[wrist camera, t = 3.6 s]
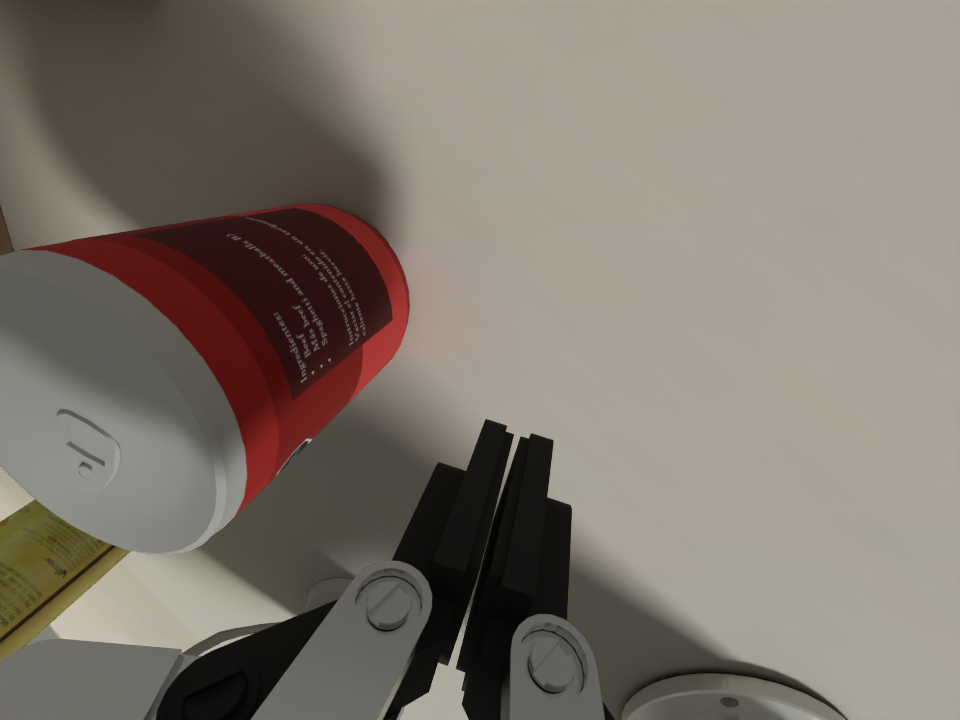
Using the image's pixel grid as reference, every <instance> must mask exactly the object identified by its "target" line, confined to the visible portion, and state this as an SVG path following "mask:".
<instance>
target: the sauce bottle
mask: <svg viewBox="0 0 960 720" xmlns="http://www.w3.org/2000/svg"><path fill="white" fill-rule="evenodd" d="M129 552H131V551H129V550H125V549H123V548H120V547H117V546H115V545H112V544H109V543H106V542H104V541H101V540H99V539H97V538H95V537H93V536H91V535H89V534H87V533H85V532H83V531H81V530H79V529H77V528H76V527H74V526H72V525H71V524H69V523H68V522H66V521H65V520H63V519H62V518H60V517H58V516H57V515H55V514H54V513H52V512H51V511H50V510H49V509H47V508H46V507H45V506H44V505H42V504H41V503H40V502H38V501H37V500H36V499H35V500H34V501H32V502H30V503H29V504H27V505H26V506H24V507H23V508H21V509H20V510H18V511H16V512H15V513H13V514H12V515H10V516H9V517H7V518H6V519H4V520H3V521H1V522H0V660H2V659H3V658H5V657H7V656H8V655H10V654H11V653H13V652H15V651H16V650H18V649H20V648H22V647H24V646H26V645H27V644H28V643H29V642H30V641H31V640H32V639H33V638H34V637H35V636H37V635H38V634H39V633H40V632H41V631H42V630H43V629H44V628H46V627H47V626H48V625H49V624H50V623H51V622H52V621H53V620H55V619H56V618H57V617H58V616H59V615H60V614H61V613H62V612H63V611H65V610H66V609H67V608H68V607H69V606H70V605H71V604H72V603H74V602H75V601H76V600H77V599H78V598H79V597H80V596H81V595H83V594H84V593H85V592H86V591H87V590H88V589H89V588H91V587H92V586H93V585H94V584H95V583H96V582H97V581H98V580H99V579H101V578H102V577H103V576H104V575H105V574H106V573H107V572H108V571H109V570H111V569H112V568H113V567H114V566H115V565H116V564H117V563H118V562H119V561H121V560H122V559H123V558H124V557H125V556H126V555H127V554H128V553H129Z"/></svg>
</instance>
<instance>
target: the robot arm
mask: <svg viewBox="0 0 960 720" xmlns="http://www.w3.org/2000/svg"><path fill="white" fill-rule="evenodd" d="M506 428H507V426H506V425H503V424H500V423H497V422H494V421H490V420H487V419H486V420H485V422H484V425H483V427H482V430H481V433H480V436H479V438H478V441H477V444H476V446H475V449H474V452H473V454H472V457H471V460H470V463H469V465H468V468H467V471H464V470H461V469H458V468H455V467H452V466H449V465H446V464H443V463H440V462H439V463H438V464H437V465H436V467H435V469H434V471H433V474H432V476H431V478H430V480H429V482H428V484H427V486H426V489H425V491H424V493H423V495H422V497H421V499H420V501H419V504H418V506H417V508H416V510H415V512H414V514H413V516H412V518H411V521H410V523H409V525H408V527H407V529H406V531H405V533H404V536H403V538H402V540H401V542H400V544H399V546H398V548H397V551H396V553H395V555H394V557H393V559H392V561H383V562H379V563H374V564H373V565H371V566H369V567H367V568H365V569H364V570H362V571H361V572H360V573H359V574H358V575H357V576H356V577H355V578H354V579H353V581H352V582H351V583H350V585H349V586H348V588H347V589H346V590H345V592H344V593H343V594H342V596H341V597H340V598H339V599H337V600H335V601H332V602H330V603H327V604H325V605H323V606H320V607H318V608H315V609H313V610H310V611H308V612H306V613H303V614H301V615H298V616H296V617H293V618H291V619H288V620H286V621H284V622H281V623H279V624H276V625H274V626H271V627H269V628H267V629H264V630H262V631H259V632H257V633H254V634H252V635H250V636H247V637H245V638H242V639H240V640H237V641H235V642H233V643H230V644H228V645H225V646H223V647H220V648H218V649H215V650H213V651H211V652H209V653H207V654H205V655H204V656H191V655H183V654H182V650H181V649H172V648H161V647H149V646H138V645H126V644H114V643H103V642H91V641H80V640H68V639H54V640H43V641H39V642H36V643H33V644H31V645H28V646H25V647H22V648H20V649H18V650H16V651H15V652H13V653H11V654H10V655H8V656H7V657H5V658H3V659H2V660H0V720H400V718H401V715H402V713H403V711H404V709H405V706H406V705H407V704H409V703H411V702H413V701H414V700H416V699H418V698H419V697H421V696H423V695H424V694H426V693H428V692H429V690H430V687H431V683H432V680H433V677H434V674H435V671H436V667H437V664H438V662H439V663H441V664H444V665H447V666H448V664H449V661H450V658H451V655H452V652H453V649H454V646H455V643H456V640H457V637H458V634H459V631H460V628H461V625H462V622H463V619H464V616H465V613H466V610H467V607H468V604H469V601H470V598H471V595H472V592H473V589H474V586H475V583H476V580H477V576H478V573H479V569H480V566H481V562H482V558H483V554H484V550H485V547H486V543H487V539H488V535H489V531H490V527H491V523H492V519H493V515H494V511H495V507H496V503H497V499H498V496H499V492H500V488H501V484H502V480H503V476H504V472H505V468H506V464H507V460H508V456H509V452H510V448H511V445H512V441H513V437H514V434H512V433H508V432H506ZM552 451H553V440H551V439H548V438H545V437H542V436H538V435H535V434H532V433H531V435H530V437H529V439H528V438H524V437H520V440H519V443H518V446H517V449H516V452H515V455H514V458H513V461H512V464H511V468H510V471H509V474H508V477H507V480H506V483H505V486H504V489H503V492H502V495H501V498H500V501H499V504H498V507H497V510H496V513H495V516H494V520H493V523H492V527H491V531H490V535H489V539H488V543H487V547H486V551H485V555H484V559H483V563H482V567H481V571H480V575H479V579H478V583H477V587H476V591H475V594H474V598H473V602H472V606H471V610H470V614H469V618H468V622H467V626H466V630H465V634H464V638H463V642H462V646H461V650H460V654H459V658H458V662H457V666H456V669H457V670H460V671H463V672H465V677H464V681H463V686H462V691H464V697H463V701H462V706H463V708H464V710H465V712H466V714H467V716H468V719H469V720H615V719H614V718H613V716H612V715H611V713H610V712H609V710H608V709H607V707H606V706H605V704H604V703H603V701H602V696H601V689H600V683H599V676H598V669H597V665H596V661H595V657H594V654H593V651H592V649H591V648H590V646H589V644H588V642H587V640H586V638H585V637H584V636H583V635H582V634H581V633H580V632H579V631H578V630H577V628H576V627H574V626H573V625H572V624H570V623H569V622H567V604H568V583H569V562H570V541H571V520H572V508H571V505H568V504H565V503H562V502H559V501H556V500H553V499H550V498H547V493H548V485H549V476H550V468H551V460H552ZM621 720H846V719H845V718H844V717H842V716H841V715H840V714H838V713H837V712H835V711H834V710H833V709H831V708H830V707H829V706H827V705H826V704H824V703H822V702H820V701H818V700H816V699H814V698H813V697H811V696H809V695H807V694H805V693H803V692H800V691H798V690H795V689H792V688H790V687H787V686H784V685H781V684H779V683H775V682H771V681H766V680H762V679H758V678H754V677H747V676H740V675H733V674H714V673H702V674H690V675H681V676H677V677H672V678H668V679H663V680H661V681H658V682H656V683H653V684H651V685H648V686H647V687H645V688H644V689H642V690H641V691H639V692H638V693H636V694H635V695H634V696H633V697H632V698H631V699H630V700H629V701H628V702H627V704H626V705H625V707H624V710H623V712H622V715H621Z"/></svg>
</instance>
